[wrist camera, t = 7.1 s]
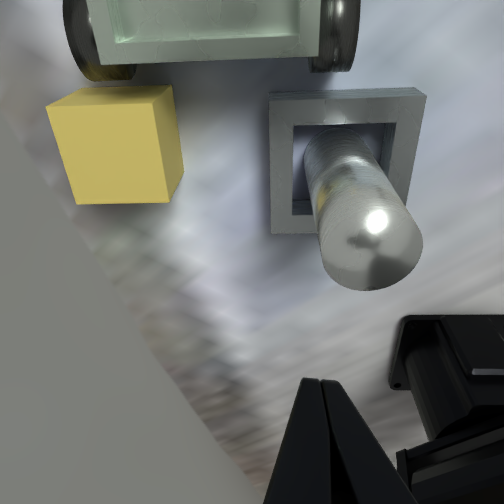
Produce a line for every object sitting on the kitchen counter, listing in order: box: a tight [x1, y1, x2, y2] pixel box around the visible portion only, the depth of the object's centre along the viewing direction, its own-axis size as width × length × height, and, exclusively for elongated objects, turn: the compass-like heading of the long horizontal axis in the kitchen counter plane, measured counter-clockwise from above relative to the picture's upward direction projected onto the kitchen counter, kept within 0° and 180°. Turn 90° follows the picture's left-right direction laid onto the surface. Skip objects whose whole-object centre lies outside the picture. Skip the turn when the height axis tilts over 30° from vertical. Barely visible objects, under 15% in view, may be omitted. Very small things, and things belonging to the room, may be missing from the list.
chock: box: [46, 85, 184, 204], centre depth 17 cm, size 4×4×4 cm
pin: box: [304, 127, 423, 291], centre depth 15 cm, size 3×3×8 cm
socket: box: [269, 87, 427, 234], centre depth 18 cm, size 6×6×2 cm
